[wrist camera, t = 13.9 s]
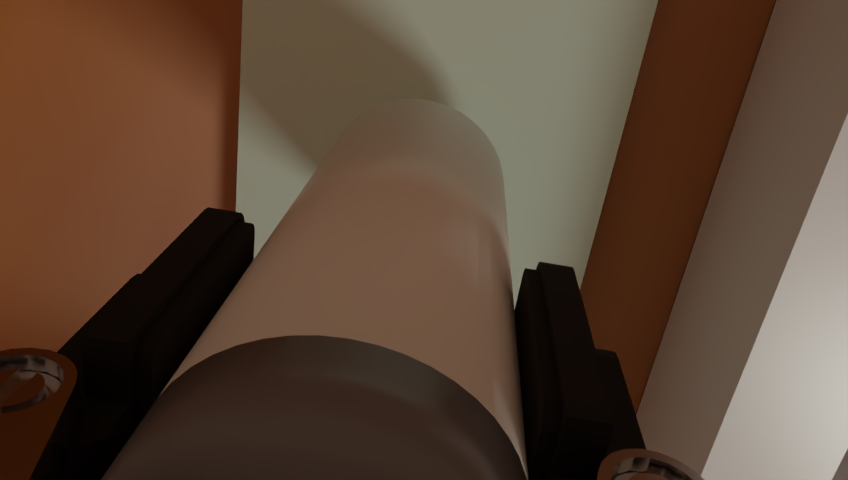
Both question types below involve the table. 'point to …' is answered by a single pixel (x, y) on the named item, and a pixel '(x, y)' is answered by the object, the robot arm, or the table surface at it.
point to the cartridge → (360, 326)
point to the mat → (447, 99)
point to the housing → (768, 276)
